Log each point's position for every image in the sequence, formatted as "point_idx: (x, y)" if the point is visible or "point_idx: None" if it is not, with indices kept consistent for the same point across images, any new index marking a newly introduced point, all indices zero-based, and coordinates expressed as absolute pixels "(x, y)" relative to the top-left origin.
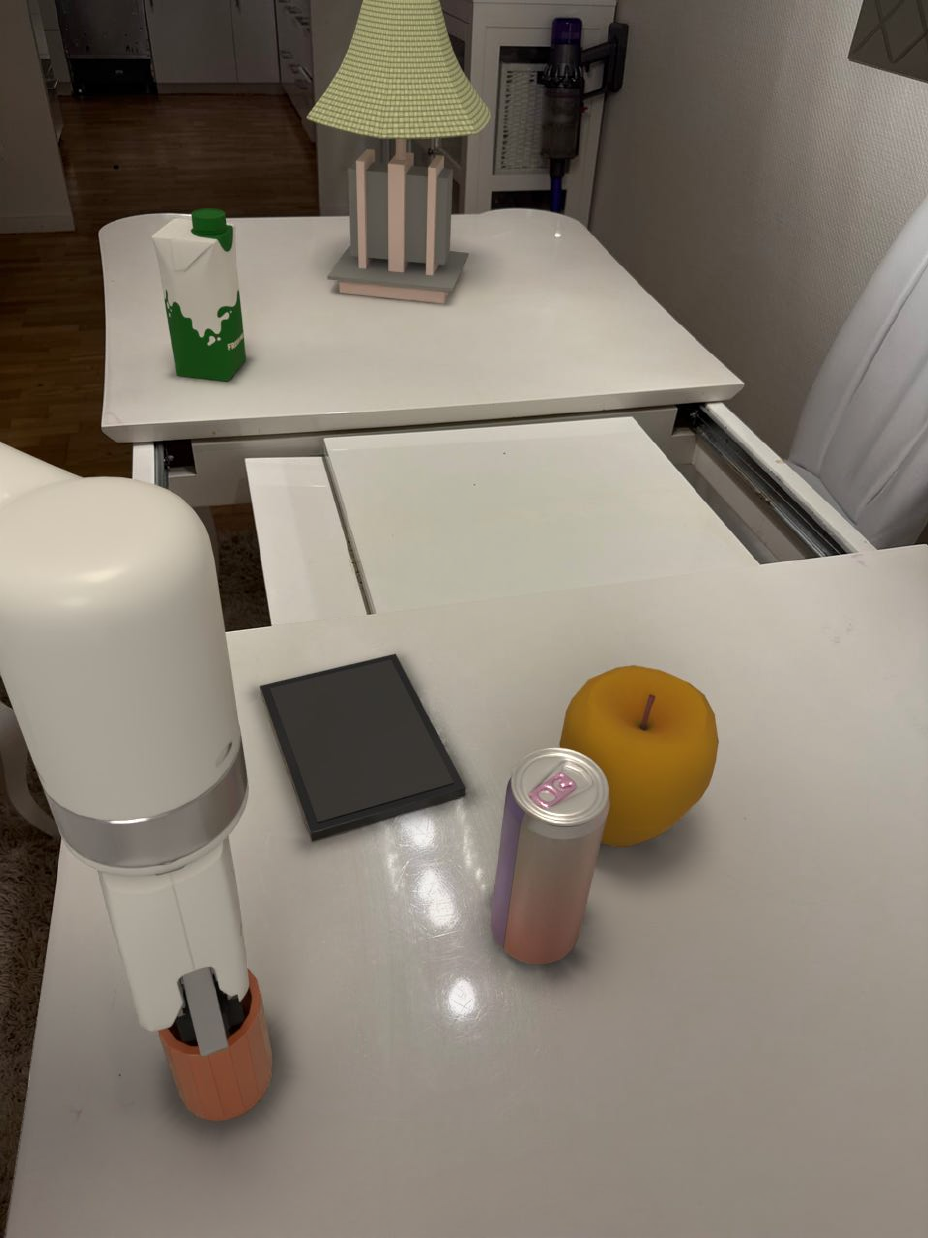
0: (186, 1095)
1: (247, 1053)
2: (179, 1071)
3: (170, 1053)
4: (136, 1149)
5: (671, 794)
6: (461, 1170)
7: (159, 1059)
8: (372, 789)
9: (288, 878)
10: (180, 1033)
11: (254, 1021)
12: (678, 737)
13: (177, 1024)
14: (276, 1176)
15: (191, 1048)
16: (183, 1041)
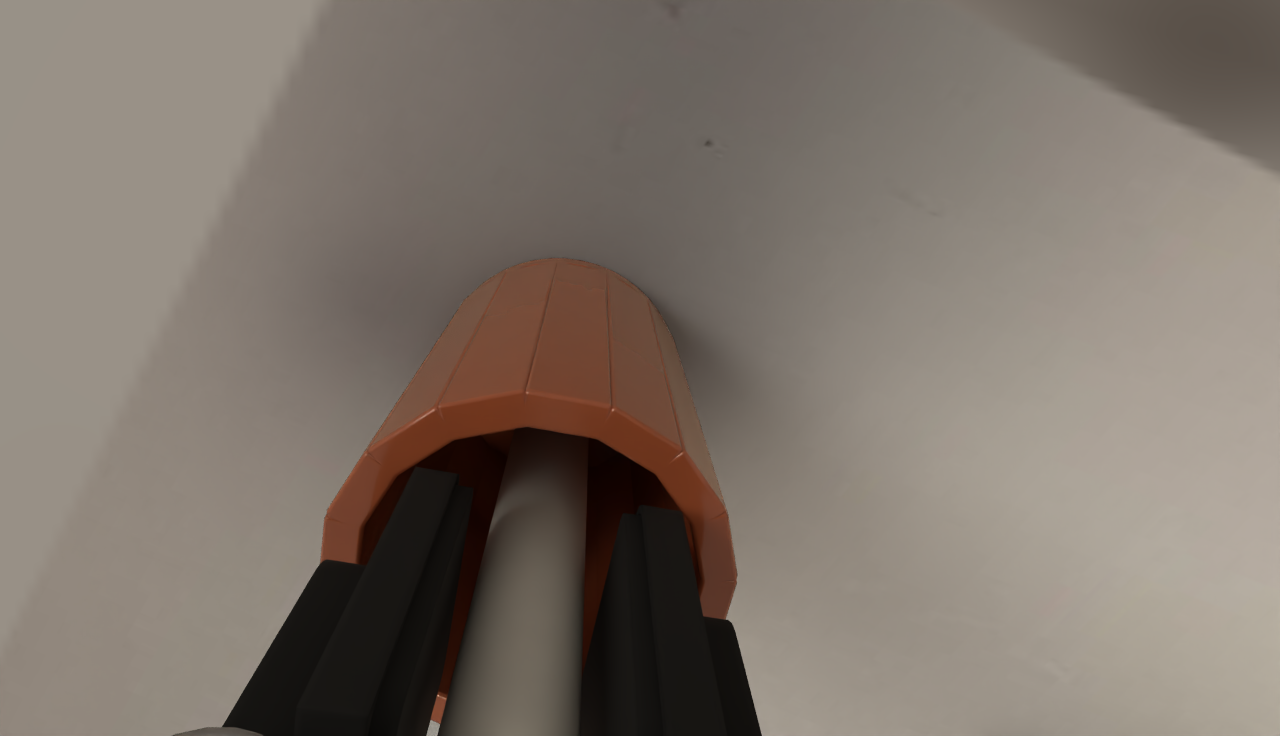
0: (490, 295)
1: None
2: (461, 345)
3: (452, 381)
4: (496, 111)
5: None
6: (116, 681)
7: (686, 246)
8: None
9: (926, 668)
10: (402, 501)
11: None
12: None
13: (371, 555)
14: (270, 376)
15: (387, 475)
16: (415, 468)
